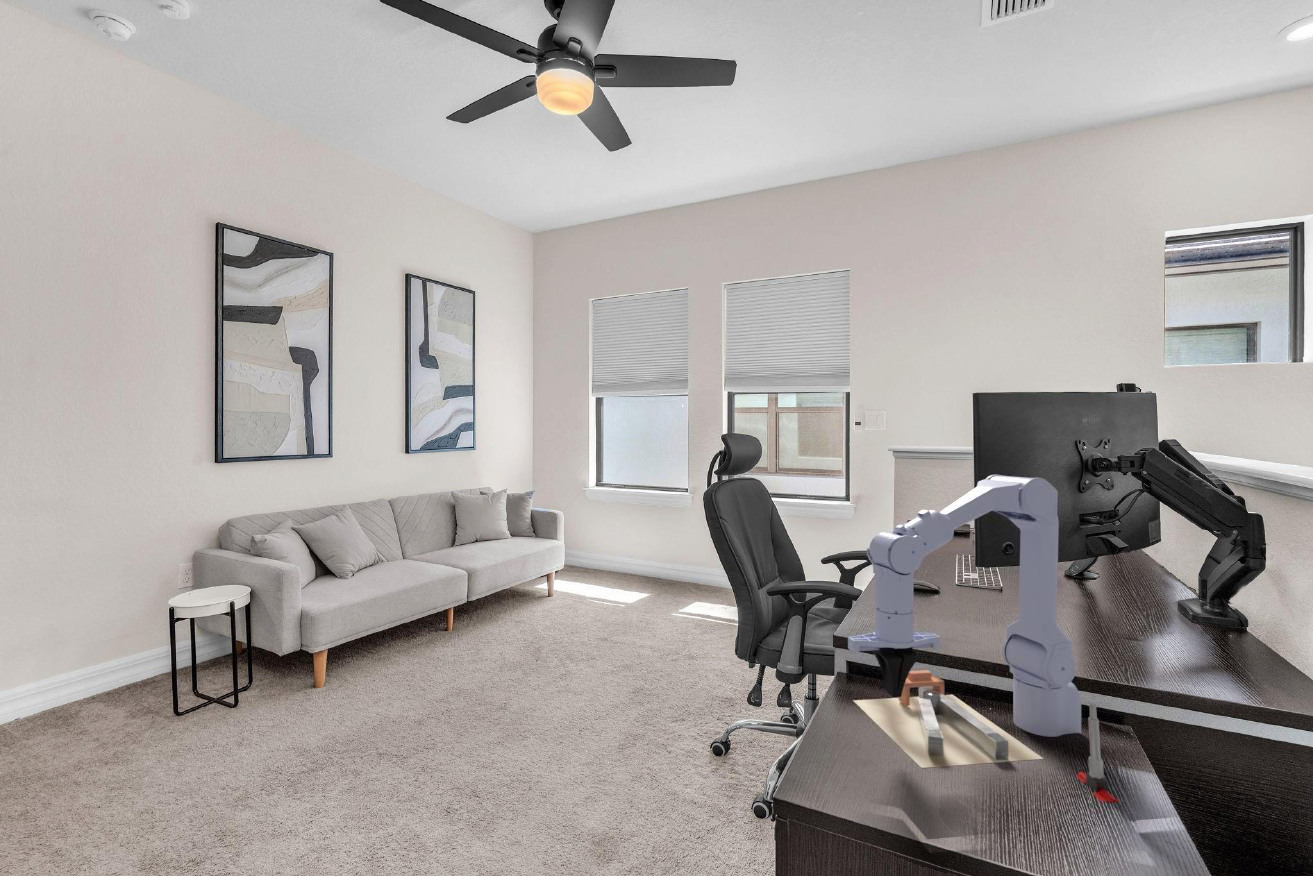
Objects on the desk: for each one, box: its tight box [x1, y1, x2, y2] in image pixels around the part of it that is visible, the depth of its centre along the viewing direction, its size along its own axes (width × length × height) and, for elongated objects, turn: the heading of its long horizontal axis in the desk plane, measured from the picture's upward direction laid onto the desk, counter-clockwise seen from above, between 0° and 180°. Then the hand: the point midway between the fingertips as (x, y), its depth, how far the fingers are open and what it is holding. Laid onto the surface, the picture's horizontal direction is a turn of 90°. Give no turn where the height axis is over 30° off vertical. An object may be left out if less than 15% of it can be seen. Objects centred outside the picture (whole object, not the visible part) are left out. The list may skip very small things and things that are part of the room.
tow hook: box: [1075, 702, 1120, 803], centre depth 83 cm, size 8×13×9 cm
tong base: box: [918, 686, 1008, 760], centre depth 100 cm, size 4×21×3 cm, turn 7°
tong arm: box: [918, 698, 944, 755], centre depth 97 cm, size 2×14×3 cm, turn 162°
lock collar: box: [898, 669, 945, 706], centre depth 109 cm, size 8×2×5 cm, turn 97°
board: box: [852, 694, 1044, 769], centre depth 100 cm, size 20×22×1 cm
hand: (894, 694), depth 93 cm, fingers closed
